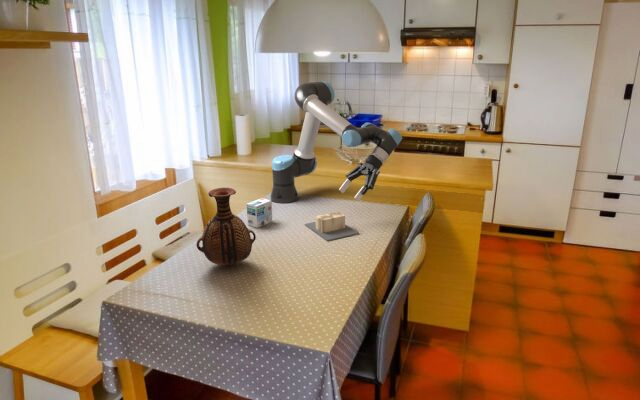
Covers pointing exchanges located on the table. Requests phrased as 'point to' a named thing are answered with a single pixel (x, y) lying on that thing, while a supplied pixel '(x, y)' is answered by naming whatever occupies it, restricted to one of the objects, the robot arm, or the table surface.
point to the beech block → (330, 222)
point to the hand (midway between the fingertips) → (348, 195)
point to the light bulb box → (259, 212)
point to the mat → (333, 232)
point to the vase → (225, 233)
